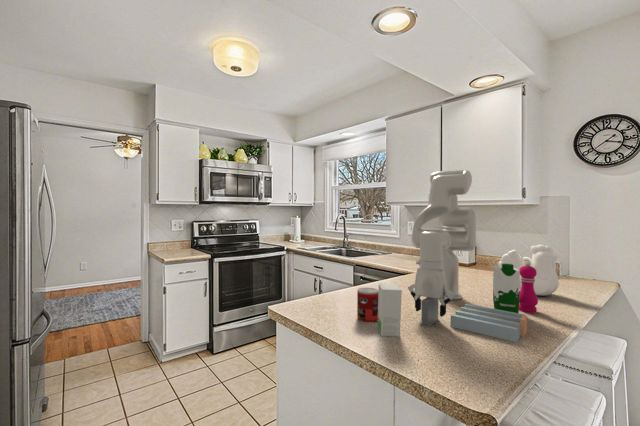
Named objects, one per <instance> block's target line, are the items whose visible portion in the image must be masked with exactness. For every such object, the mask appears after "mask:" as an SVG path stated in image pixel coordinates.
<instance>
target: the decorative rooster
mask: <svg viewBox="0 0 640 426" xmlns="http://www.w3.org/2000/svg"><path fill="white" fill-rule="evenodd" d="M553 251H554V250H553V247H552V246H550V245H546V244H537V245H532V246H530V252H531V253H532V257H528V256H523V257H522V256H521V254H520V253H519V251H518V250H517V249H512V250H508V252H507V253H504V254H503V255H502V257H501V258H500V260H499V262H498V264H497V265H498V266H497V267H502V264H513V265H514V268H515V269H517V270H519V269H520V268H521V267H522V266H526V265H525V263H526V262H525V261H529V263H530V266H531V267H533V268H535V270H536V272H537V274H536V276H535V277H534V278H535V282H534V291H535V294H536V296H549V295H551V294H553V293H555V292H556V291H557V290H558V288H559V283H560V282H559V275H558V274H557V271H556V270H557V265H556V264H557V261H556V260H558V259H559V255H557V254H554V252H553ZM520 277H521V275H520ZM521 287H522V281H521V278H520V290H521Z"/></svg>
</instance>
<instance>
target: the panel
mask: <svg viewBox="0 0 640 426" xmlns="http://www.w3.org/2000/svg"><path fill="white" fill-rule="evenodd" d="M420 311H421V312H420V314H421V324H420V325H421V327H426V328H429V327H430V326H432V325H433V324H435V323H436V322H438V320H439V299H434V298H428V297H424V299H421V310H420Z"/></svg>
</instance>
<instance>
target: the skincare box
mask: <svg viewBox="0 0 640 426" xmlns="http://www.w3.org/2000/svg"><path fill="white" fill-rule="evenodd" d="M378 290H379V293H378V320H377V329H378V331H379V333H380V336H381V337H399V338H400V337H401V319H402V317H401V316H402V296H403V295H402V294H403V293H402V289H401V288H400V285H398V284H397V283H396V282H395V283H391V282H390V283H387V282H385V283H383V282H380V283H378Z"/></svg>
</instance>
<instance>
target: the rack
mask: <svg viewBox="0 0 640 426" xmlns="http://www.w3.org/2000/svg"><path fill="white" fill-rule="evenodd" d="M450 327H451V328H455V329H458V330H459V329H460V330H463V331H468V332H471V333H476V334H481V335H485V336H489V337H492V338H498V339H502V340H506V341H511V342H513V343H514V342H515V343H518V340H520V337H522V338H525V337H526V335H527V333H528V315H526V314H524V313H520V312H519V313H514V312H509V311H503V310H498V309H494V308H492V307H491V308H490V307H486V306H481V305H476V304H470V303H465V304H464V306H461V307H460V310H456V311H455V314H453V313H452V314H450Z"/></svg>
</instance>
